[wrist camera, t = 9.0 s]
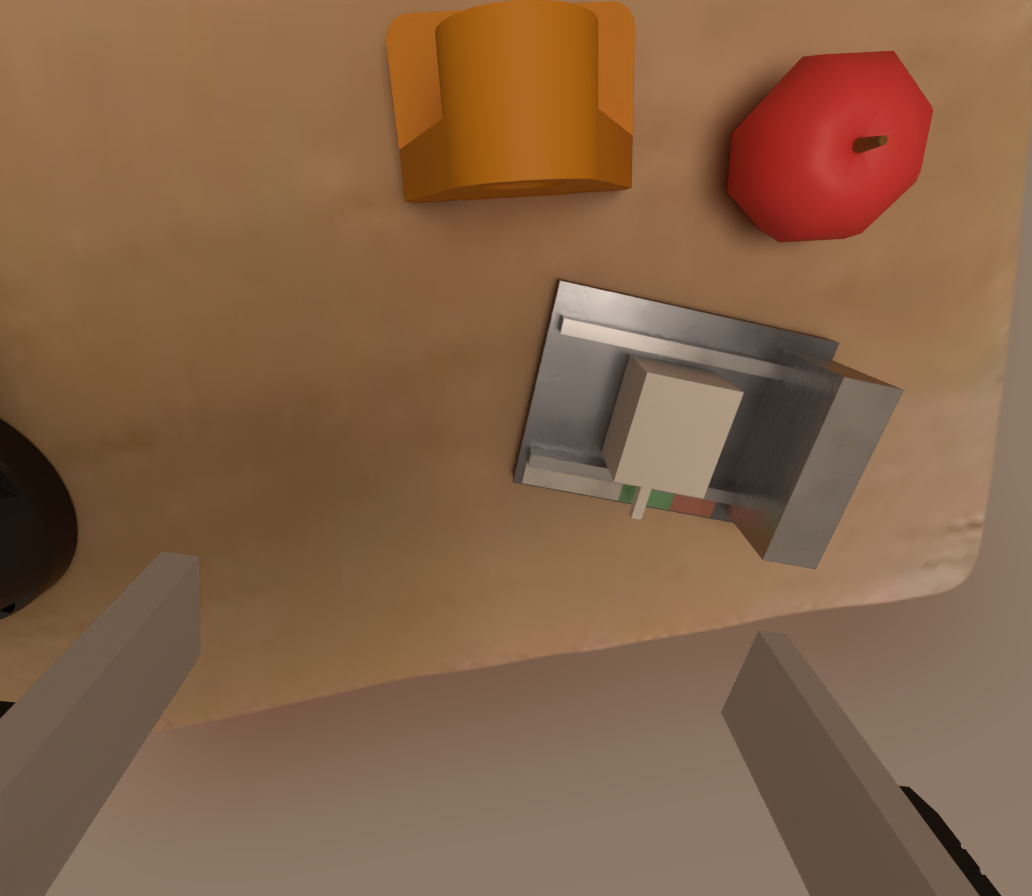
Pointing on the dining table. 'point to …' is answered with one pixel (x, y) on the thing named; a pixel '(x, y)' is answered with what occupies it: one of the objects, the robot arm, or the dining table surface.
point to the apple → (830, 146)
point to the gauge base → (754, 431)
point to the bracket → (513, 99)
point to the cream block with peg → (668, 428)
